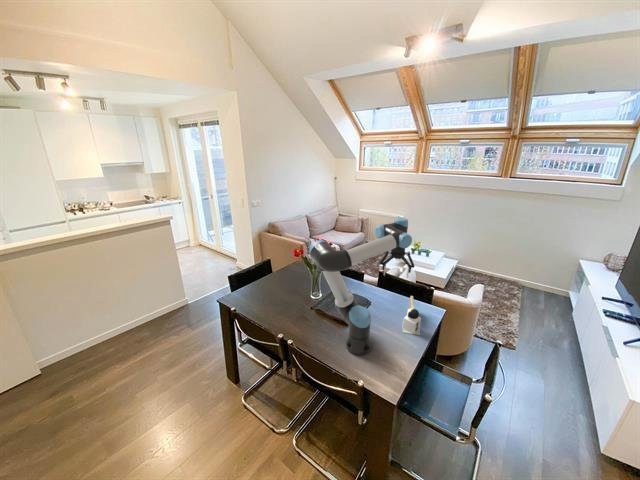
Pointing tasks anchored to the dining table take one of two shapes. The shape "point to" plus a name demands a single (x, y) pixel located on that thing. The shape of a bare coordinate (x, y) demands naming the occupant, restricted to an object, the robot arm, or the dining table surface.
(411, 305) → the screen
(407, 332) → the mat
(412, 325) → the container
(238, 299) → the dining table surface
